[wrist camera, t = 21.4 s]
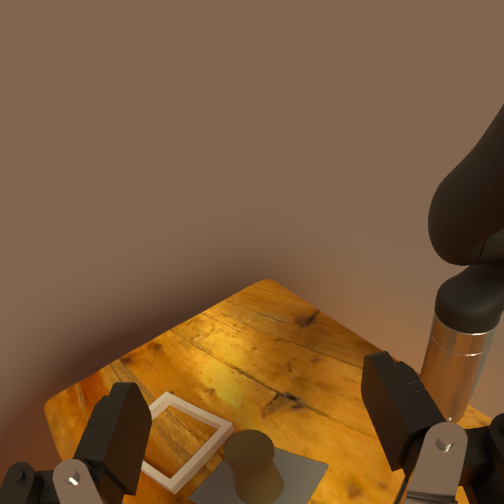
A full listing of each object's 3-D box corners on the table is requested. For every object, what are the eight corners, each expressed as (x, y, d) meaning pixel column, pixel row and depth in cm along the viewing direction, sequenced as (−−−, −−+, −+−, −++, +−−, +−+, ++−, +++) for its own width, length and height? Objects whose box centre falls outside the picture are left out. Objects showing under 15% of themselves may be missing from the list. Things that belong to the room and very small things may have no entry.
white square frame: (169, 398, 47) (166, 391, 47) (235, 430, 40) (233, 423, 39) (112, 446, 36) (107, 440, 36) (175, 494, 29) (170, 489, 28)
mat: (244, 437, 38) (244, 435, 38) (328, 466, 31) (328, 464, 31) (189, 499, 28) (187, 498, 28) (279, 544, 21) (278, 543, 21)
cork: (291, 475, 30) (287, 429, 27) (271, 512, 26) (260, 475, 22) (249, 462, 33) (235, 414, 30) (226, 495, 28) (205, 454, 25)
